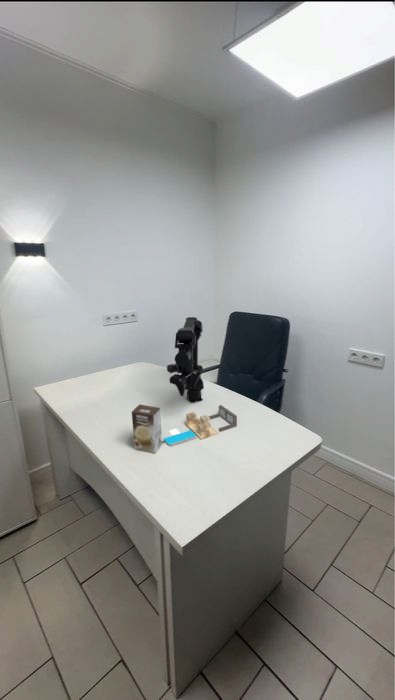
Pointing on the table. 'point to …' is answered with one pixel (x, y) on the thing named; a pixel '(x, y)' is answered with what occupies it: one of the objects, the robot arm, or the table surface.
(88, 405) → the table surface
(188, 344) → the robot arm
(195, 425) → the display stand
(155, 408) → the coffee box
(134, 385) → the table surface
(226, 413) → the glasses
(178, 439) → the blue flat piece
